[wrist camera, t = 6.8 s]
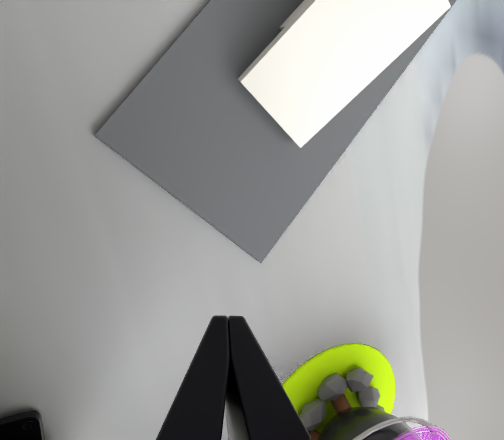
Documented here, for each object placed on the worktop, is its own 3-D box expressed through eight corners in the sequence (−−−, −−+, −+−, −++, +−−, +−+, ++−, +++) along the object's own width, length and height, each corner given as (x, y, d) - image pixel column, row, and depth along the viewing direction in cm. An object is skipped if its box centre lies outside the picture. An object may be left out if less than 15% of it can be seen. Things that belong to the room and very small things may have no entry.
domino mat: (258, 261, 21) (260, 263, 20) (95, 135, 15) (94, 135, 15) (479, -35, 23) (484, -38, 23) (405, -227, 18) (411, -235, 18)
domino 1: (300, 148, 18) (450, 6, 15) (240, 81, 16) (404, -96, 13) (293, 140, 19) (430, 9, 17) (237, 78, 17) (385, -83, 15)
